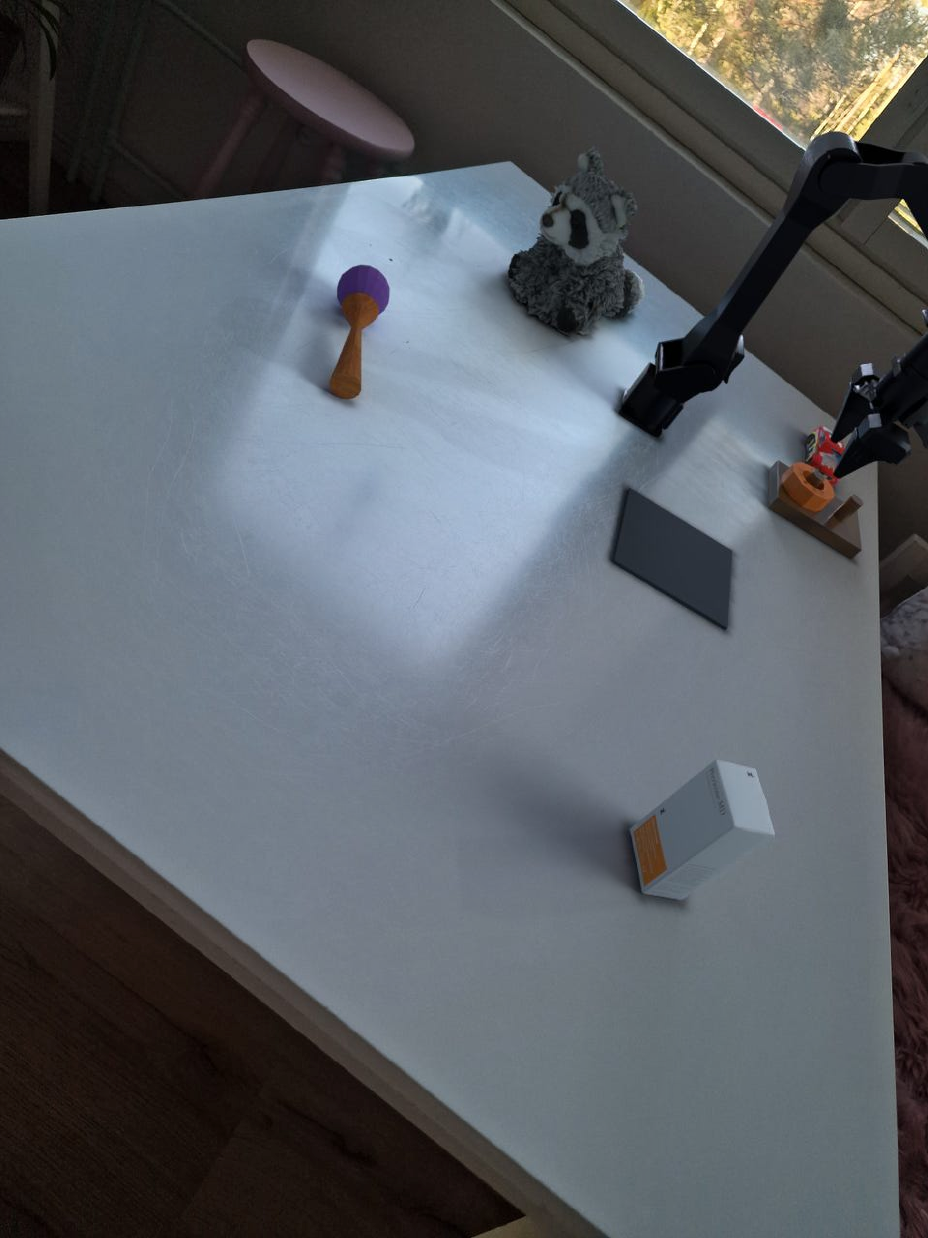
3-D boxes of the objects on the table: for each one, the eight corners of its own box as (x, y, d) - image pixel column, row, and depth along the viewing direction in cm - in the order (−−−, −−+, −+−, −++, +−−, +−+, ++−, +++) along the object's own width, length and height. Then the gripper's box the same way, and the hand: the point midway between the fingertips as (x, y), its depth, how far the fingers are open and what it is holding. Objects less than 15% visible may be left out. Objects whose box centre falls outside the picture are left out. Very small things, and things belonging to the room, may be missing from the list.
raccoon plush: (470, 281, 134) (550, 136, 120) (570, 248, 158) (647, 124, 144) (553, 353, 132) (645, 216, 118) (642, 309, 156) (727, 190, 142)
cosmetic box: (626, 828, 84) (714, 755, 76) (667, 837, 86) (757, 766, 78) (639, 896, 80) (734, 826, 72) (682, 903, 82) (778, 836, 74)
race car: (831, 495, 146) (850, 476, 143) (801, 474, 145) (820, 455, 143) (833, 453, 156) (851, 434, 153) (805, 434, 155) (823, 415, 153)
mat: (612, 562, 108) (614, 559, 108) (627, 489, 119) (629, 487, 119) (725, 630, 110) (727, 627, 110) (730, 552, 121) (732, 550, 121)
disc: (781, 493, 134) (794, 480, 132) (781, 466, 139) (793, 454, 137) (822, 519, 134) (835, 506, 133) (820, 491, 140) (833, 479, 138)
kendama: (321, 355, 99) (345, 248, 112) (311, 401, 104) (336, 292, 116) (379, 371, 100) (397, 262, 113) (367, 415, 105) (385, 306, 118)
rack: (768, 507, 134) (795, 478, 130) (768, 469, 141) (794, 441, 138) (851, 559, 136) (880, 533, 132) (847, 519, 143) (875, 493, 140)
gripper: (986, 439, 116) (888, 528, 127) (963, 370, 130) (877, 455, 141) (910, 389, 115) (817, 483, 125) (896, 324, 129) (813, 413, 139)
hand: (834, 458), depth 132 cm, fingers open, 9 cm apart
